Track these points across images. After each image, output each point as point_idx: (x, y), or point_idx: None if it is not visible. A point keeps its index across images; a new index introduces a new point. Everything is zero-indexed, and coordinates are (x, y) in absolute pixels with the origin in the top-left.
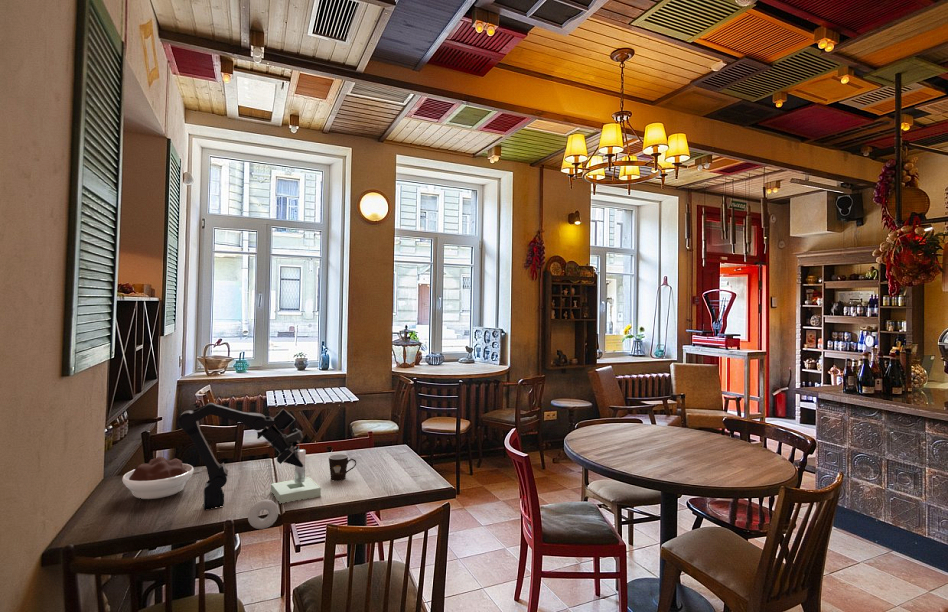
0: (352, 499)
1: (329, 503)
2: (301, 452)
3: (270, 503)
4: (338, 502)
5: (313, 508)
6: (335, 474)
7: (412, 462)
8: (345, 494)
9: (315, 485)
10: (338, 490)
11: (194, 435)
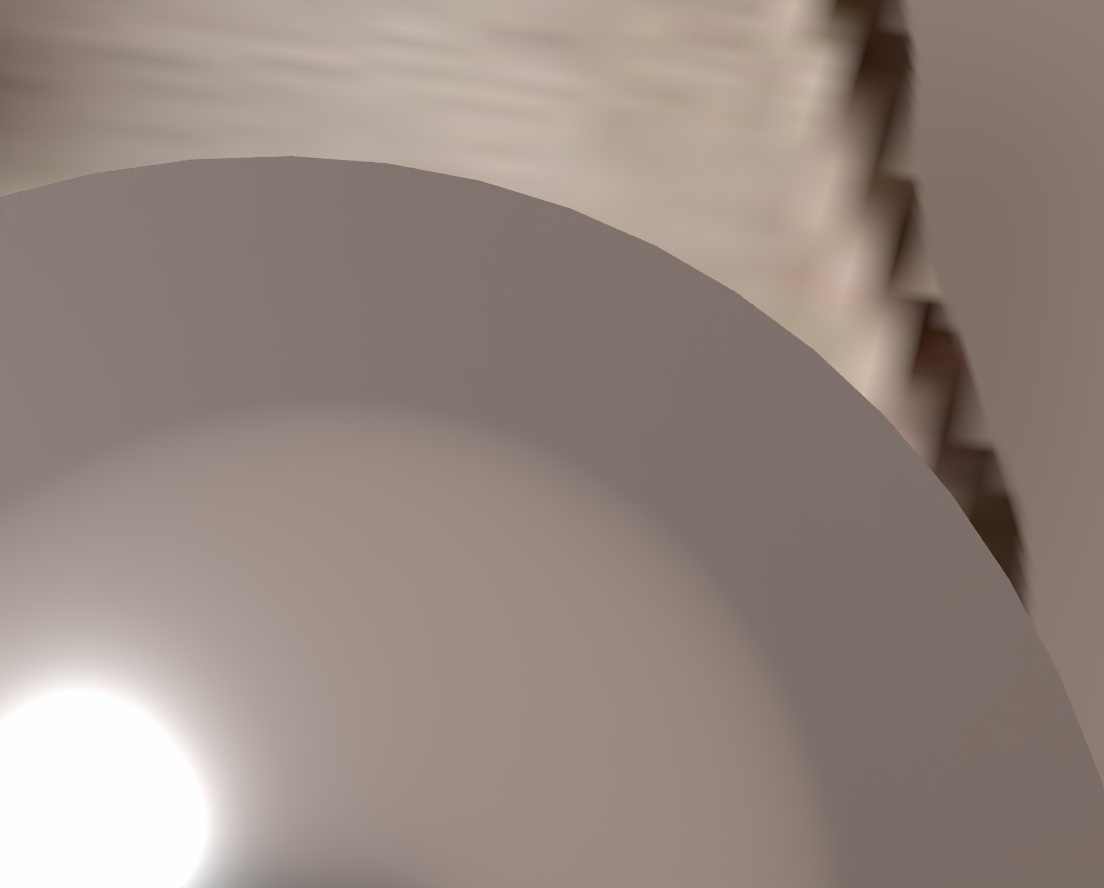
0: (761, 14)
1: (849, 324)
2: (1017, 786)
3: None
4: (837, 200)
5: (1021, 580)
6: None
7: None
8: (509, 60)
9: None
10: (266, 121)
11: None
